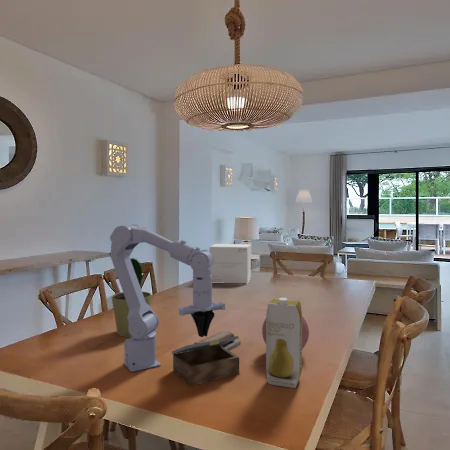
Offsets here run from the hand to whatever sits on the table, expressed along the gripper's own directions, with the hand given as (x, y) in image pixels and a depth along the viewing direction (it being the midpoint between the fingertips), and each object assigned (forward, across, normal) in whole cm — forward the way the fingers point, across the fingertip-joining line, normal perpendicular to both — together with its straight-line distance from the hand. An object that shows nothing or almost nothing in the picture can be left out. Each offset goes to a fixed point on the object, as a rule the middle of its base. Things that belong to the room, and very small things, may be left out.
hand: (202, 335), depth 119 cm
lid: (+3, 0, -2) cm, 4 cm away
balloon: (+11, +28, -4) cm, 30 cm away
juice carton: (+11, +16, -19) cm, 27 cm away
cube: (+11, +82, +123) cm, 148 cm away
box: (+10, 0, -2) cm, 11 cm away
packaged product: (+11, +12, +14) cm, 21 cm away
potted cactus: (+11, -8, +47) cm, 49 cm away
